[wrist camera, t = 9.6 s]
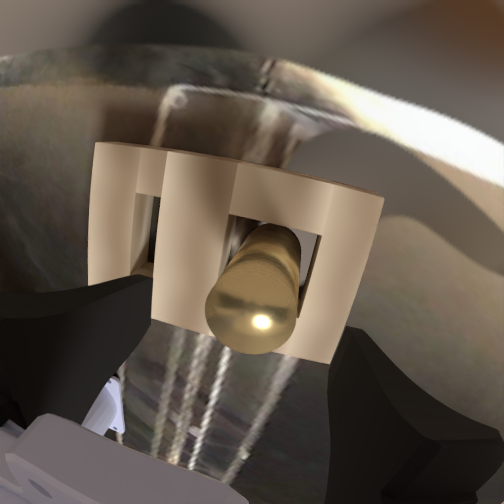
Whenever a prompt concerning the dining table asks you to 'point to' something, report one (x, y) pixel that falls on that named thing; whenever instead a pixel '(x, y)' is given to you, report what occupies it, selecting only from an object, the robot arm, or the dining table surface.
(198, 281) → the holder
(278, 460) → the dining table surface
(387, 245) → the dining table surface
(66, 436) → the robot arm
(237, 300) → the gold metal cylinder
